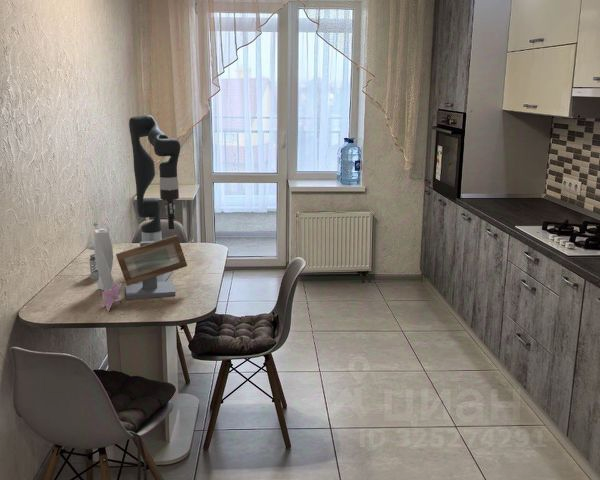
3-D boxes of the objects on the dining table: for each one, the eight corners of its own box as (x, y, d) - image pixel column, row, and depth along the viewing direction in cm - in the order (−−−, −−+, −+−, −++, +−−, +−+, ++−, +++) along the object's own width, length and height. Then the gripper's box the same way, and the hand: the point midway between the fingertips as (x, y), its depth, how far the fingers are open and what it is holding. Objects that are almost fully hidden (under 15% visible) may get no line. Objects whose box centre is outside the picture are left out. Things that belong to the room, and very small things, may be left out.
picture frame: (127, 284, 268) (116, 254, 264) (187, 264, 273) (176, 234, 269) (127, 286, 266) (115, 255, 262) (187, 266, 271) (177, 235, 267)
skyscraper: (119, 288, 277) (115, 225, 271) (106, 292, 271) (101, 228, 265) (107, 285, 282) (102, 223, 275) (93, 289, 276) (88, 226, 269)
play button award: (173, 270, 301) (163, 282, 282) (173, 273, 301) (163, 286, 282) (139, 270, 301) (127, 282, 282) (139, 273, 302) (127, 286, 282)
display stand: (126, 288, 278) (122, 239, 273) (172, 284, 283) (170, 236, 278) (126, 299, 263) (122, 248, 258) (175, 295, 268) (172, 245, 263)
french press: (86, 274, 298) (82, 222, 292) (112, 271, 303) (108, 219, 298) (90, 279, 290) (85, 225, 284) (116, 276, 295) (112, 223, 289)
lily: (104, 304, 260) (93, 287, 254) (131, 291, 261) (120, 274, 256) (107, 322, 251) (95, 305, 245) (134, 309, 252) (123, 292, 246)
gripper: (159, 185, 268) (161, 226, 272) (160, 190, 255) (163, 232, 259) (177, 185, 270) (179, 225, 274) (179, 189, 257) (181, 231, 261)
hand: (171, 228), depth 267 cm, fingers closed
